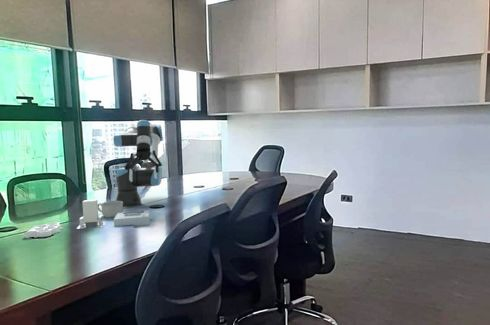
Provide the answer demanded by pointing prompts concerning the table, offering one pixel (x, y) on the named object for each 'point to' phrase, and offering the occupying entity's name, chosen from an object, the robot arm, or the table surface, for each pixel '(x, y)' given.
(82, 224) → the holster
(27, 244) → the table surface
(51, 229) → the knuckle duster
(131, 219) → the switch box
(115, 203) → the teacup
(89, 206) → the plug
